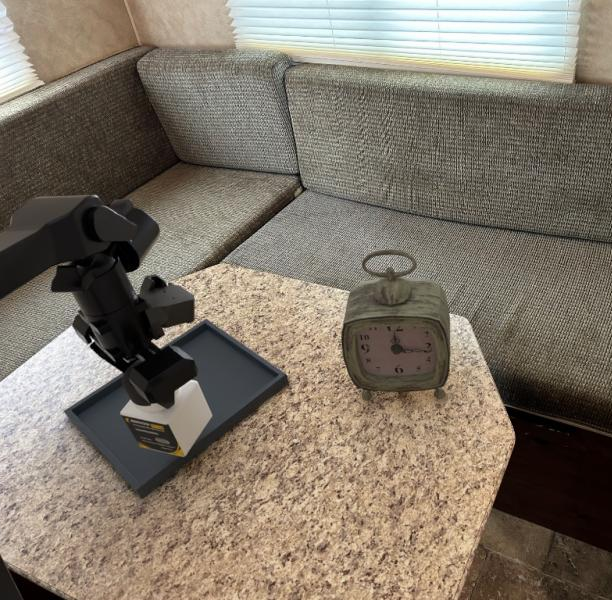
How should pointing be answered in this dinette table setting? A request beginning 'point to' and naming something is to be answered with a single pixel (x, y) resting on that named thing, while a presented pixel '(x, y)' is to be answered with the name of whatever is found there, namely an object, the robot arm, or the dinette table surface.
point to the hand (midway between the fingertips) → (157, 394)
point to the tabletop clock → (396, 332)
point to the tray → (215, 387)
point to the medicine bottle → (166, 418)
